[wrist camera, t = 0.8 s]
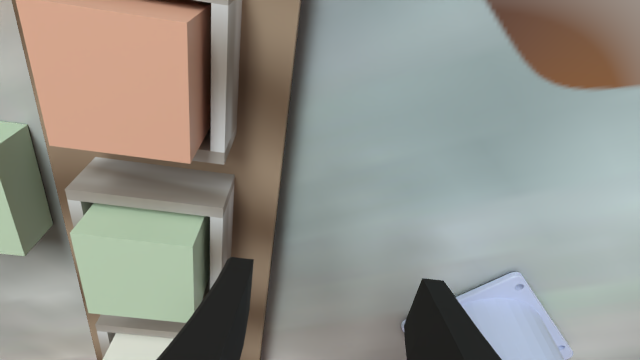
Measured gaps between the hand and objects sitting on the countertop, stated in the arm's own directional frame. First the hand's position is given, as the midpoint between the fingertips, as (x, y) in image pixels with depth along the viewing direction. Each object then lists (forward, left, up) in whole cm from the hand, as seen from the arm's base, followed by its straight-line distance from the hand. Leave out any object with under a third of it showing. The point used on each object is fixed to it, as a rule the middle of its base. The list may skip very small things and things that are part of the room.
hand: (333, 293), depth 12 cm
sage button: (+2, +8, -6) cm, 10 cm away
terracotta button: (+8, +2, -6) cm, 10 cm away
